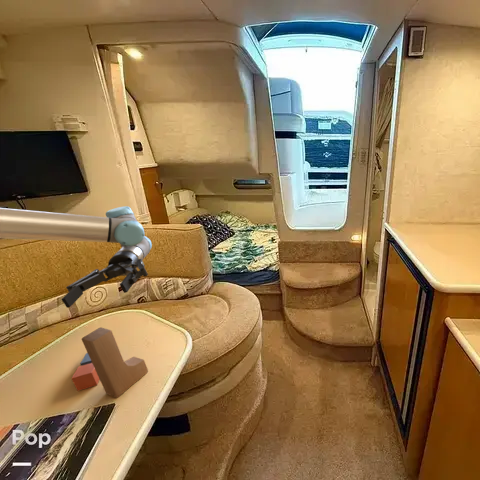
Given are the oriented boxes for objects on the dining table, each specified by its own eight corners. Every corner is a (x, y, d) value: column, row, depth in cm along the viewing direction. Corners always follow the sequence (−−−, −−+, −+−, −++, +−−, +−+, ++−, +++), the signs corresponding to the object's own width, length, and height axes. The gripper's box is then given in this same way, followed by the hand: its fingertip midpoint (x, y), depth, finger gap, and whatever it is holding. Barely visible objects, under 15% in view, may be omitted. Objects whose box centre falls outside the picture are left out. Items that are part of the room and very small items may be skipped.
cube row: (97, 385, 73) (91, 372, 71) (77, 391, 71) (71, 378, 70) (114, 348, 86) (110, 337, 85) (98, 352, 85) (93, 341, 83)
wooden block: (138, 368, 78) (118, 315, 72) (149, 371, 76) (129, 318, 70) (105, 394, 70) (80, 338, 64) (117, 398, 68) (92, 341, 62)
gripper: (170, 260, 92) (152, 293, 73) (90, 280, 88) (48, 321, 69) (161, 241, 89) (140, 270, 70) (78, 260, 85) (31, 297, 66)
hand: (95, 295), depth 70 cm, fingers open, 13 cm apart
